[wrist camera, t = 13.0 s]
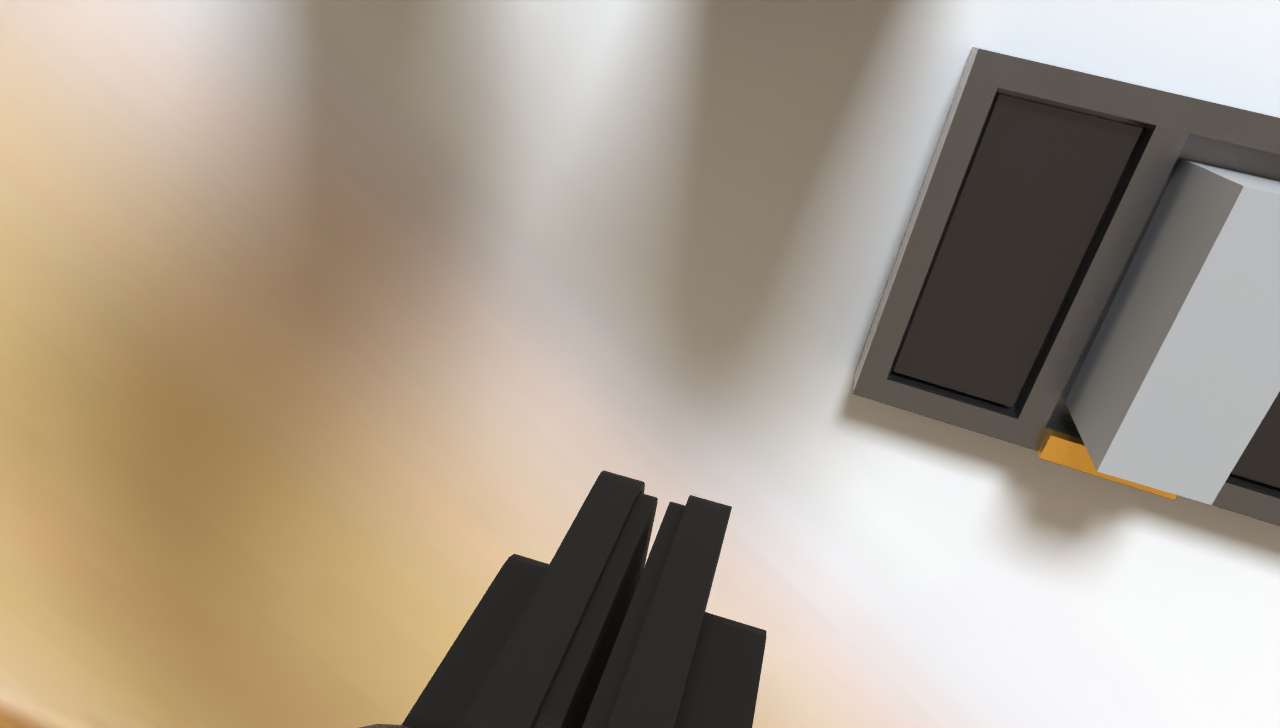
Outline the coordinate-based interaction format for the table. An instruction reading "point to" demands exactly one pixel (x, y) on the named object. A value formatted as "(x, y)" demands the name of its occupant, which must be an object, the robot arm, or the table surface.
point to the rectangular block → (1188, 338)
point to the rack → (1045, 254)
